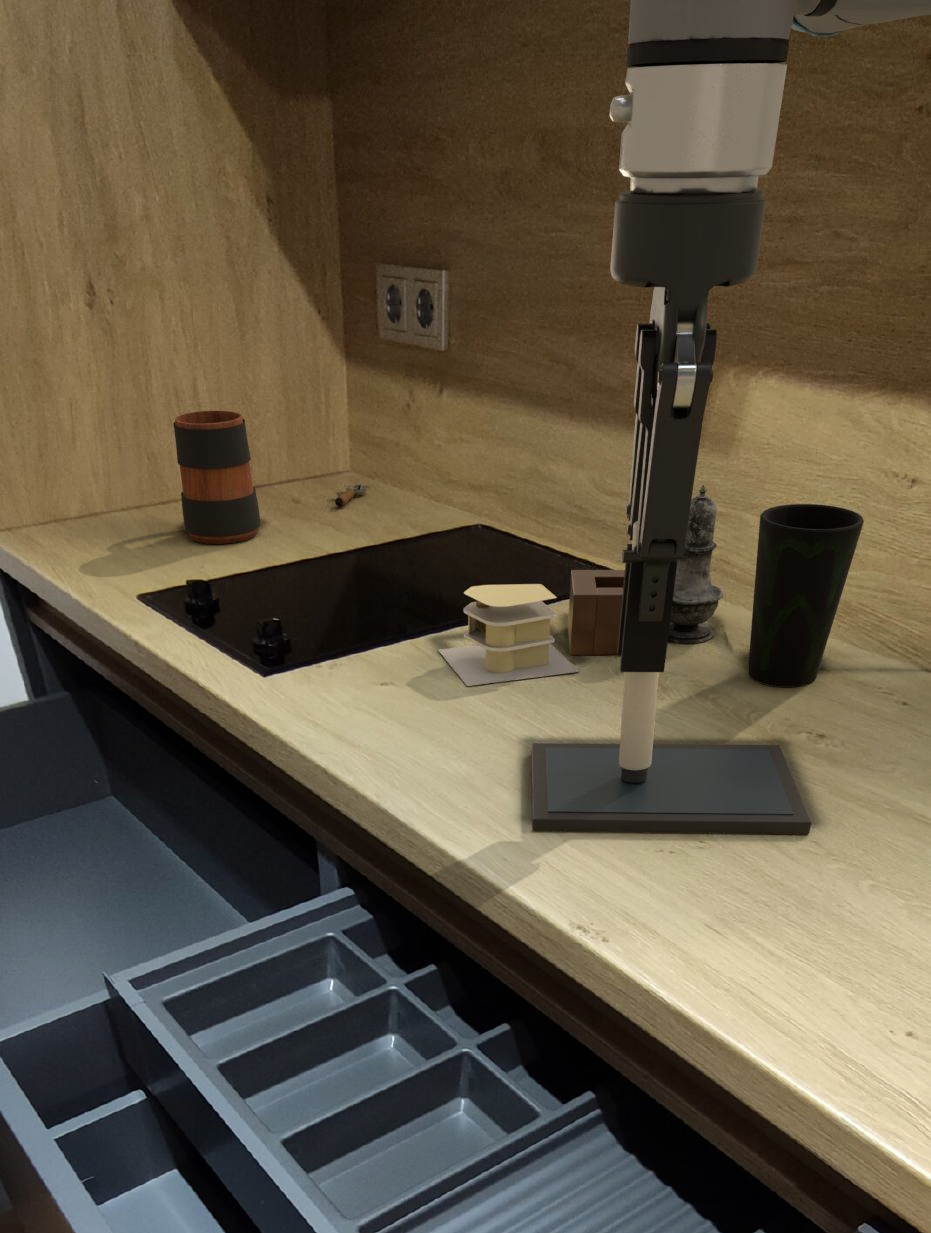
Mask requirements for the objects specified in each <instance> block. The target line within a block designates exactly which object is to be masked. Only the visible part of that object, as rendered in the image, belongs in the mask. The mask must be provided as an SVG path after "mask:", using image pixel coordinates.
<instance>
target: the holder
mask: <svg viewBox="0 0 931 1233" xmlns="http://www.w3.org/2000/svg"><path fill="white" fill-rule="evenodd" d="M624 574H625V569H571V571H570V581H569V582H570V584H569V600H568V616H567V617H568V618H567V635H568V647H569V655H571V656H589V655H590V656H618V654H617V648H618V638H619V627H620V617H621V606H622V595H623V585H624Z"/></svg>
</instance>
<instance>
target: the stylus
mask: <svg viewBox="0 0 931 1233" xmlns="http://www.w3.org/2000/svg"><path fill="white" fill-rule="evenodd" d="M637 525H638V521H636V522H635V523H634V526H633V540H632V541H631V542H632V543H631V544H632V550H633V549H634V547H635V545H636V536H637ZM659 675H660V672H623V687H622V688H623V690H622V703H621V704H622V705H621V721H620V739H619V744H620V752H619V765H620V766H621V779H622V780H623V781H625V782H629V783H640V782H643V781H645V780H646V779H647V774H648V767H650V765H651V762H652V750H653V744H654V735H655V723H656V712H657V701H658V689H659V677H660V676H659Z"/></svg>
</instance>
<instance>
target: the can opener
mask: <svg viewBox="0 0 931 1233" xmlns="http://www.w3.org/2000/svg"><path fill="white" fill-rule="evenodd" d="M361 485H362V484H361V483H357V482H356V483H355V485H354V487H353V488H350V487H345V491H344V492H343V493H340V494H339V495H338V496H337V497H336V498H335V500H334V502H335V506H337V507H338V508H340V507H341V508H342V507H343V506H345V505H346V504H347V503H348V502H349V501H350V500H351V499H353V498H354V496H355V495H356V494H357V493H358V494H364V493H366V492H367V491H368V488H367V487H366V486H364V487H362V486H361Z"/></svg>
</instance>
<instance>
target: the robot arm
mask: <svg viewBox="0 0 931 1233" xmlns="http://www.w3.org/2000/svg"><path fill="white" fill-rule="evenodd" d="M921 16H931V0H630V8H629V21H628V22H629V23H628V40H627V45H628V48H627V51H626V52H627V53H626V64H625V66H626V67H628V68H627V70H626V75H625V81H624V84H625V86H626V88H627V90H628V92H629V94H626V95H624V94H623V95H620V94H619V95H617V96H614V97H613V98H612V100H611V103H610V105H609V106H610V107H609V118H610V120H611V121H612V122H613V123H626V126H625V127H624V129H623V130H622V133H621V134H620V148H619V149H620V150H619V163H618V164H619V165H618V171H619V172H620V173H621V175H622V176H623V177H624V178H630V182H629V183H630V184H629V190H628V191H622V192H620V193H619V199H616V200H615V204H614V216H613V226H612V227H613V230H612V243H611V253H610V255H611V256H610V257H611V258H610V274H611V277H612V278H613V280H614V281H615V282H617V283H618V284H621V285H624V286H629V287H636V288H637V287H638V288H653V291H652V298H651V306H650V307H651V308H650V312H649V313H650V314H649V322H646V323H643V322H642V323H639V322H638V323H637V325H636V332H635V340H634V356H635V360H636V362H637V366H636V375H635V385H634V386H635V387H634V395H633V396H634V397H633V406H634V412H635V419H634V420H635V422H634V423H635V424H634V431H633V432H634V434H633V443H632V444H633V446H632V456H631V457H632V458H631V468H630V469H631V470H630V480H629V481H630V483H629V492H628V494H629V495H628V503H627V505H626V507H625V508H626V509H625V514H626V515H625V516H626V519H627V521H628V522H629V524H627V527H626V528H627V530H626V531H627V532H626V534H627V535H628V540H629V541H633V526H634V523H635V522H636V521H638V525H637V536H636V545H635V547H634V549H633V550H632V543H627V544H626V549H622V550H621V563H622V564H625V565H624V570H625V574H624V585H623V595H622V606H621V617H620V627H619V638H618V648H617V654H618V655H617V657H620V662H619V663H620V665H619V671H620V673H624V672H659V673H665V667H666V660H667V651H668V650H667V649H668V642H669V641H668V635H669V627H670V619H671V611H672V603H673V594H674V586H675V578H676V570H677V562H678V560H682V558H683V557H684V553H685V552H686V544H685V540H686V533H687V526H688V519H689V512H690V506H691V499H693V491H694V484H695V479H696V478H695V477H696V470H697V463H698V456H699V449H700V442H701V434H702V429H703V423H704V422H703V421H704V415H705V410H706V405H707V400H708V395H709V390H710V385H711V383H712V382H713V378H714V369H713V366H714V362H715V358H716V348H717V339H718V330H717V328H711V326H712V325H711V322H708V311H709V292H710V291H711V289H713V288H714V287H733V286H738V285H743V284H745V283H747V282H749V281H750V280H752V278H753V277H754V275H755V273H756V272H757V267H758V260H759V253H760V246H761V240H762V233H763V227H764V218H765V213H766V205H767V198H765V197H764V191H763V190H759V189H758V183H759V177H760V176H765V175H767V174H768V173H769V172H770V171H771V169H772V168H773V163H774V155H775V150H776V143H777V142H776V141H777V135H778V131H779V130H778V129H779V123H780V116H781V109H782V102H783V96H784V88H785V83H786V76H787V68H788V64H787V63H784V62H787V61H788V55H789V48H790V36H791V30H793V31H797V32H800V33H807V34H810V35H811V36H813V37H816V38H829V37H834V36H836V35H838V34H840V33H842V32H844V31H846V30H847V31H848V30H850V29H855V28H860V27H863V26H864V27H865V26H869V25H875V24H876V25H877V24H882V23H887V22H894V21H899V20H903V19H904V20H905V19H910V18H915V17H921Z"/></svg>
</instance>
